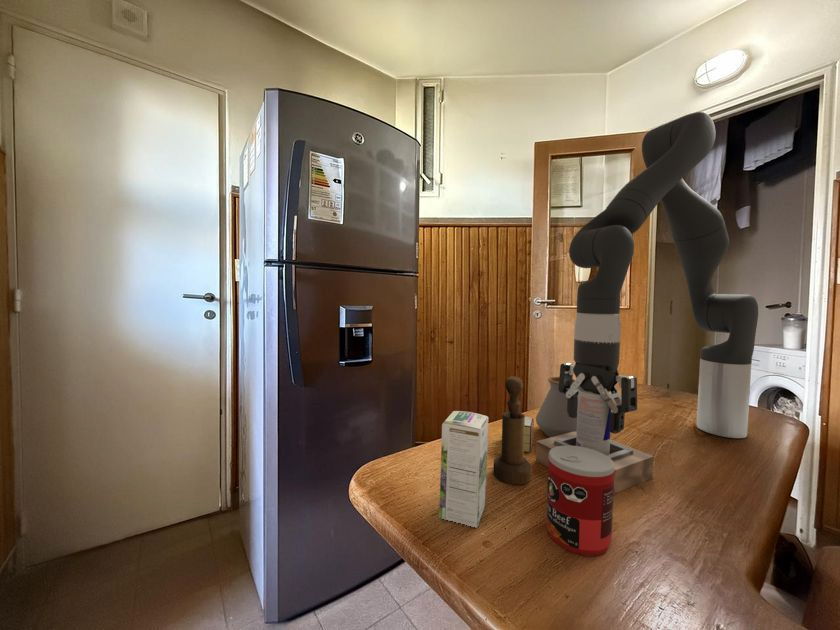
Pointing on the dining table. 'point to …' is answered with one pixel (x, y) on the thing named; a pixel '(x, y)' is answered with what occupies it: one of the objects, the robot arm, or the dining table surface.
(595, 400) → the beverage can
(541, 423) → the coffee pot
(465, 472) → the syrup box
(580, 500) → the canned food
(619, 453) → the block
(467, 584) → the dining table surface
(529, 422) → the puzzle toy
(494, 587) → the dining table surface
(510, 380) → the mortar and pestle
